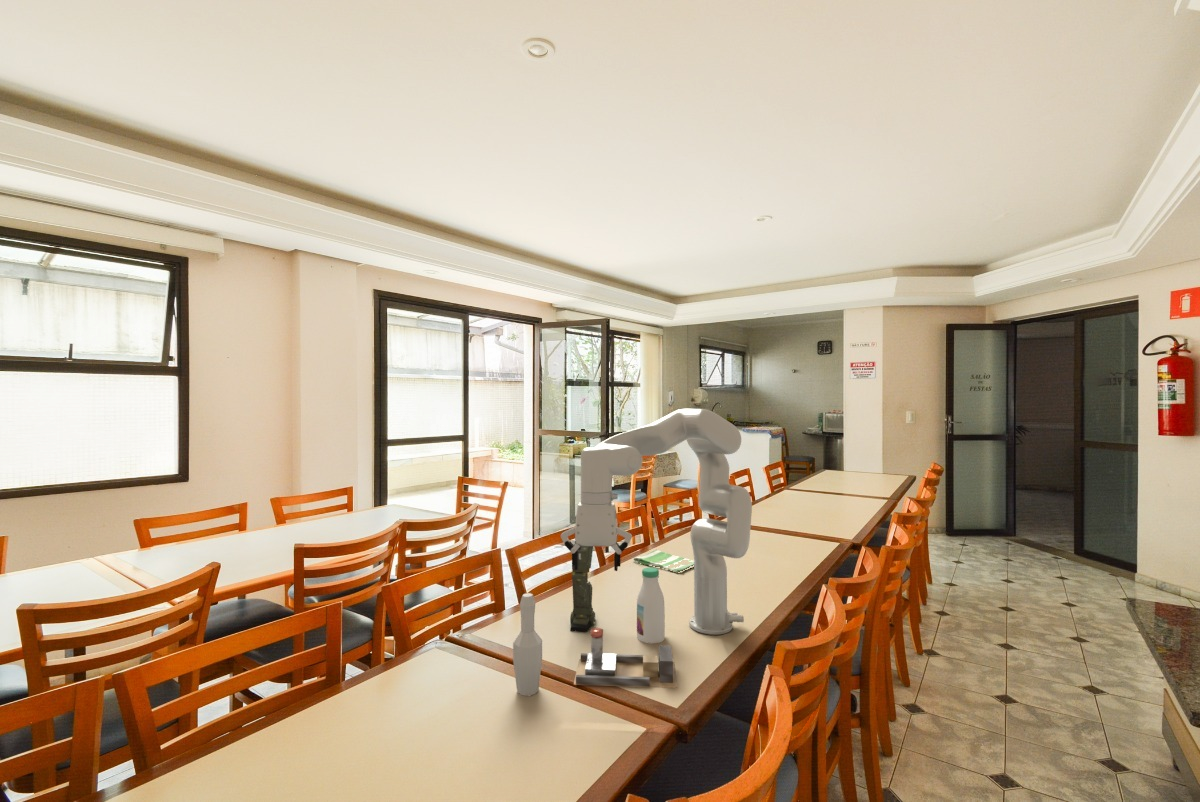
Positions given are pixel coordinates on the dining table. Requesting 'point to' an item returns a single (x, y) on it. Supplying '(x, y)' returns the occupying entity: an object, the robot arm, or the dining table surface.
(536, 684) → the faceted bottle
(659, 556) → the dish towel
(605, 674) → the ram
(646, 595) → the milk bottle
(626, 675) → the press board
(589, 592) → the mechanical leg
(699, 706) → the dining table surface
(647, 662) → the nut block
